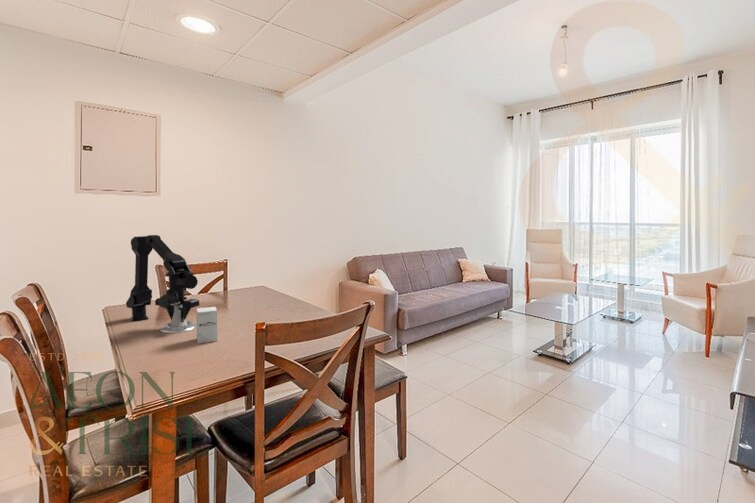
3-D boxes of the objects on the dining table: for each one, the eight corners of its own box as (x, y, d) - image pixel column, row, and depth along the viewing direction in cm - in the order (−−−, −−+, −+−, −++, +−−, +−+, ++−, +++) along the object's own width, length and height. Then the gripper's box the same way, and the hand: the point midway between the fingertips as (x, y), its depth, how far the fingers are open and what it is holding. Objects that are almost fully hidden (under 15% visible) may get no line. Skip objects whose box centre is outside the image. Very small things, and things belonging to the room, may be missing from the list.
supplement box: (197, 344, 144) (196, 312, 143) (196, 338, 151) (195, 307, 150) (218, 341, 148) (217, 310, 147) (216, 335, 154) (215, 306, 153)
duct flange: (157, 327, 165) (157, 323, 165) (191, 321, 174) (191, 317, 174) (163, 335, 154) (163, 330, 154) (199, 328, 163) (199, 324, 163)
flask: (177, 330, 160) (177, 307, 159) (165, 328, 162) (164, 305, 161) (191, 325, 166) (190, 303, 165) (179, 324, 169) (178, 302, 168)
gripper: (143, 288, 157) (145, 324, 159) (179, 291, 152) (181, 328, 154) (165, 283, 168) (166, 317, 169) (199, 286, 163) (200, 321, 164)
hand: (178, 321), depth 164 cm, fingers closed on flask, 5 cm apart
